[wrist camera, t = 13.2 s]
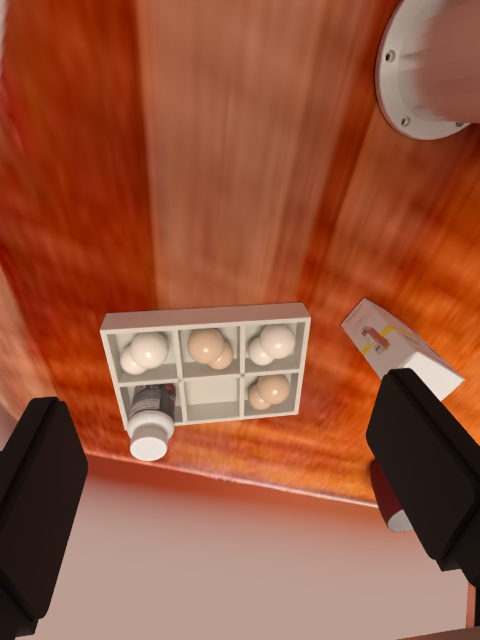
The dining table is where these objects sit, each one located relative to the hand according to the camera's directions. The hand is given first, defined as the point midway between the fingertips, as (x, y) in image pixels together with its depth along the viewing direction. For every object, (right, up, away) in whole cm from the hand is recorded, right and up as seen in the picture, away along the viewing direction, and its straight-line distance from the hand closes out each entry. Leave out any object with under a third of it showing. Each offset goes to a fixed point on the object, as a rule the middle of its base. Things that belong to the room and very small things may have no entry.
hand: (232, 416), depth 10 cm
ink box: (+18, +3, +35) cm, 39 cm away
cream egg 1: (-11, 0, +31) cm, 33 cm away
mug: (+27, -22, +52) cm, 62 cm away
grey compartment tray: (-4, -2, +34) cm, 35 cm away
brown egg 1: (-4, +1, +32) cm, 32 cm away
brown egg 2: (+4, -5, +37) cm, 37 cm away
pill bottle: (-11, -6, +35) cm, 37 cm away
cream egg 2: (+4, +1, +33) cm, 33 cm away
